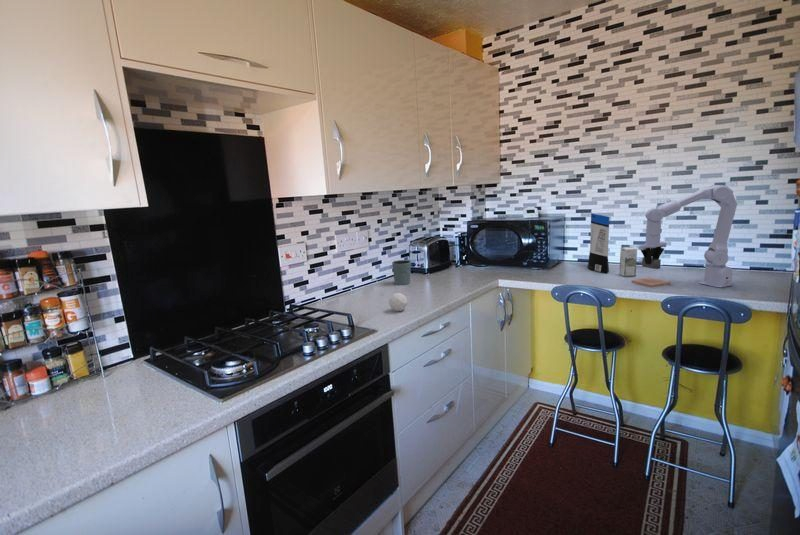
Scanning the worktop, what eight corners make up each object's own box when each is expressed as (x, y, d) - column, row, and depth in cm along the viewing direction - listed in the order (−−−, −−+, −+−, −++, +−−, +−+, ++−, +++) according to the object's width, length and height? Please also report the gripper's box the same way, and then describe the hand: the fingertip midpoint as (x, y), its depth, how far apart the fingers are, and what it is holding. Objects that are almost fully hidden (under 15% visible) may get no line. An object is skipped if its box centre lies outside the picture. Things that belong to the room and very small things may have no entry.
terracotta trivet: (669, 284, 192) (670, 281, 192) (651, 287, 189) (651, 285, 189) (649, 279, 203) (649, 277, 202) (631, 282, 199) (631, 280, 199)
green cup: (400, 280, 233) (399, 259, 231) (415, 282, 227) (414, 260, 225) (389, 284, 225) (388, 262, 223) (405, 286, 219) (403, 264, 217)
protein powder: (597, 274, 219) (599, 217, 213) (581, 265, 243) (582, 213, 237) (616, 273, 218) (619, 216, 212) (598, 264, 242) (599, 212, 236)
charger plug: (662, 268, 191) (662, 259, 190) (656, 269, 190) (656, 260, 189) (643, 264, 201) (643, 256, 200) (637, 265, 200) (637, 257, 199)
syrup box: (630, 273, 215) (632, 246, 213) (636, 276, 210) (637, 248, 207) (619, 274, 216) (620, 246, 213) (624, 276, 210) (625, 248, 207)
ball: (398, 318, 177) (390, 307, 172) (391, 307, 183) (383, 296, 178) (413, 307, 177) (405, 296, 172) (405, 297, 184) (397, 286, 178)
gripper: (657, 232, 197) (655, 260, 200) (633, 235, 193) (632, 264, 196) (671, 233, 190) (669, 262, 193) (646, 236, 186) (644, 266, 189)
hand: (651, 263), depth 194 cm, fingers closed on charger plug, 4 cm apart
